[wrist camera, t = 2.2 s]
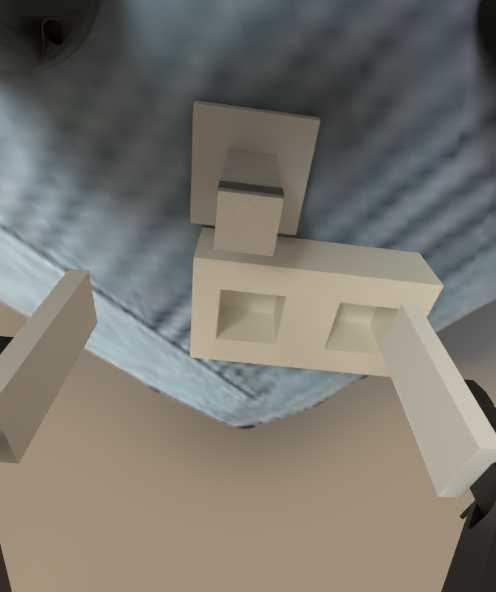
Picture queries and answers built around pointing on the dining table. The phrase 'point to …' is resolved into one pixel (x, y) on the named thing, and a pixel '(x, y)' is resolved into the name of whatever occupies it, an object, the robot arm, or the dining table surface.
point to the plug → (248, 203)
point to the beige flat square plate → (255, 138)
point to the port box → (304, 303)
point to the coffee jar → (488, 25)
